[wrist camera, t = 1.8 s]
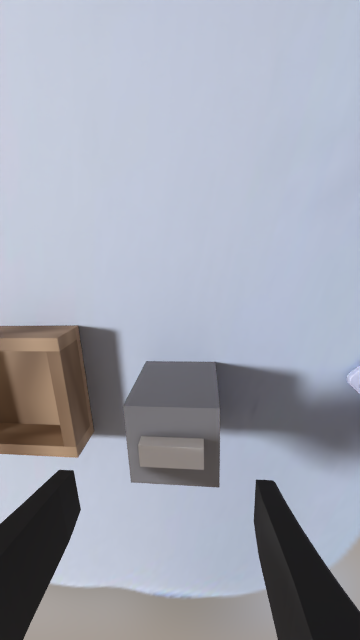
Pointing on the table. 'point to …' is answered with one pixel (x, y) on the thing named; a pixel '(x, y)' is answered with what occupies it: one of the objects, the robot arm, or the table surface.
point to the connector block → (174, 424)
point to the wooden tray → (43, 392)
